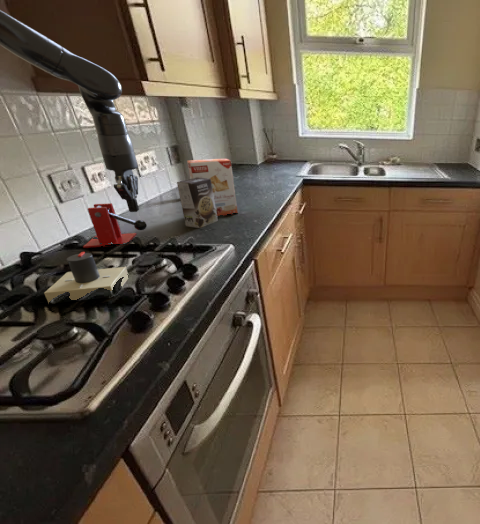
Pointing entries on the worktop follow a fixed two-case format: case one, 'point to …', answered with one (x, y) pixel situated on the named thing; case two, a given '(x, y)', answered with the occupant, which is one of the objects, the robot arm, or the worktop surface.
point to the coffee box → (197, 202)
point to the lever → (129, 221)
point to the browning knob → (83, 267)
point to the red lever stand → (106, 227)
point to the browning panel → (81, 289)
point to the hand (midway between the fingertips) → (134, 211)
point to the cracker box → (217, 182)
